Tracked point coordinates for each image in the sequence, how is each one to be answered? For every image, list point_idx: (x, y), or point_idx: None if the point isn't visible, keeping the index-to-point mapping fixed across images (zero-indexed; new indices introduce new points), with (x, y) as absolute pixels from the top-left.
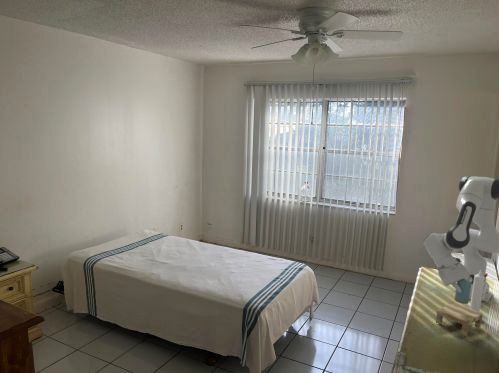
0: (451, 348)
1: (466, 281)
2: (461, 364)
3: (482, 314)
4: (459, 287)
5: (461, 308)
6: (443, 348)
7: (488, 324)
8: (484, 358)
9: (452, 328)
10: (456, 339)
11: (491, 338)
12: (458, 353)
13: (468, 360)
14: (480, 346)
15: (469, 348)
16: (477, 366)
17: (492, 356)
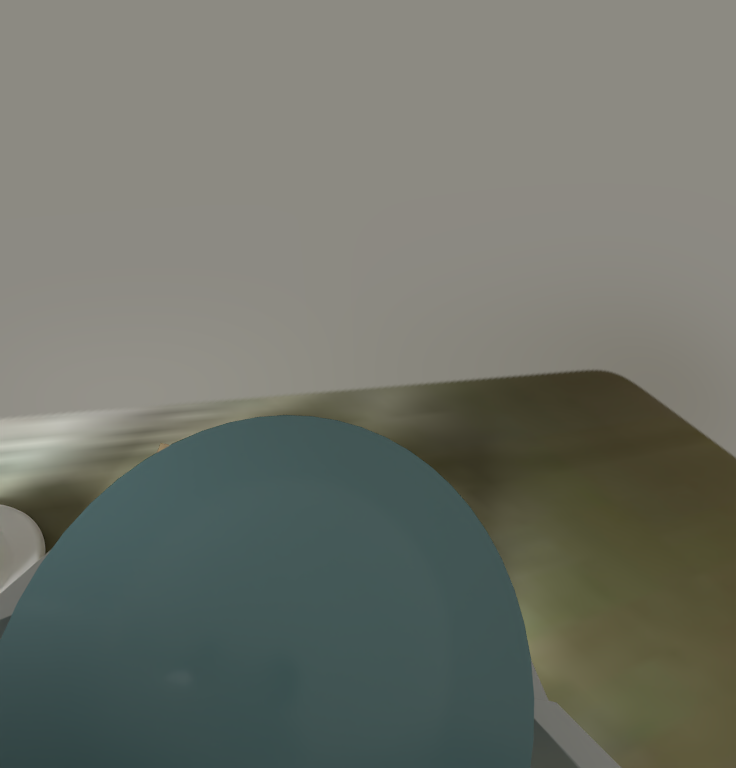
0: (652, 565)
1: (214, 588)
2: (732, 482)
3: (163, 446)
4: (544, 702)
5: None
6: (699, 604)
7: (89, 446)
8: (576, 408)
9: None
10: (521, 573)
11: (319, 406)
12: (660, 518)
13: (668, 463)
14: (475, 441)
15: (553, 483)
16: (672, 423)
17: (523, 383)
